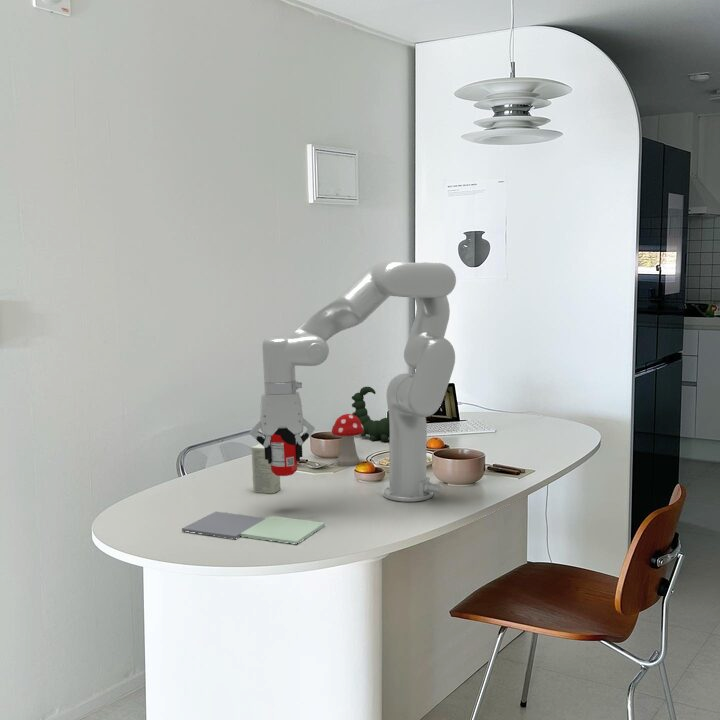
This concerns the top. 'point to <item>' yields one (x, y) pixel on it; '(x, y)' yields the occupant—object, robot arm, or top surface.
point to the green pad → (282, 529)
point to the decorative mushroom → (347, 438)
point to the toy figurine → (370, 427)
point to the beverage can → (283, 452)
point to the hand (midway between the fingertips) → (283, 460)
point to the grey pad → (223, 524)
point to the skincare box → (263, 472)
